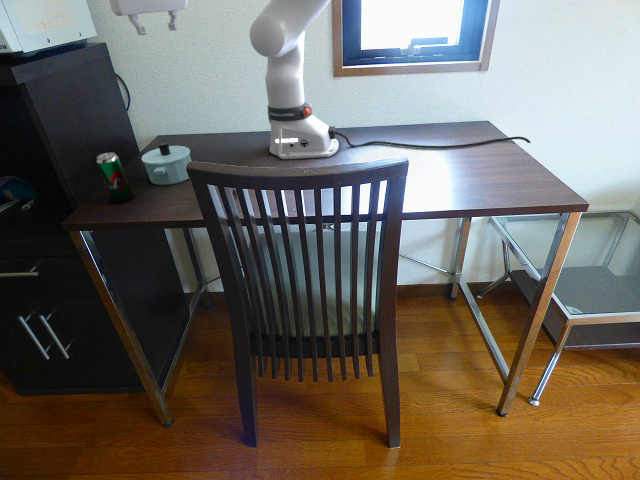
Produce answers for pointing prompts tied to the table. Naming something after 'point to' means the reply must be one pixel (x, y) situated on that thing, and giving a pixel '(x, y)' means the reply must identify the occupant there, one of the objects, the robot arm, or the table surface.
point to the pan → (168, 172)
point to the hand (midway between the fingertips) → (158, 32)
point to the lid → (165, 154)
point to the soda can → (114, 177)
